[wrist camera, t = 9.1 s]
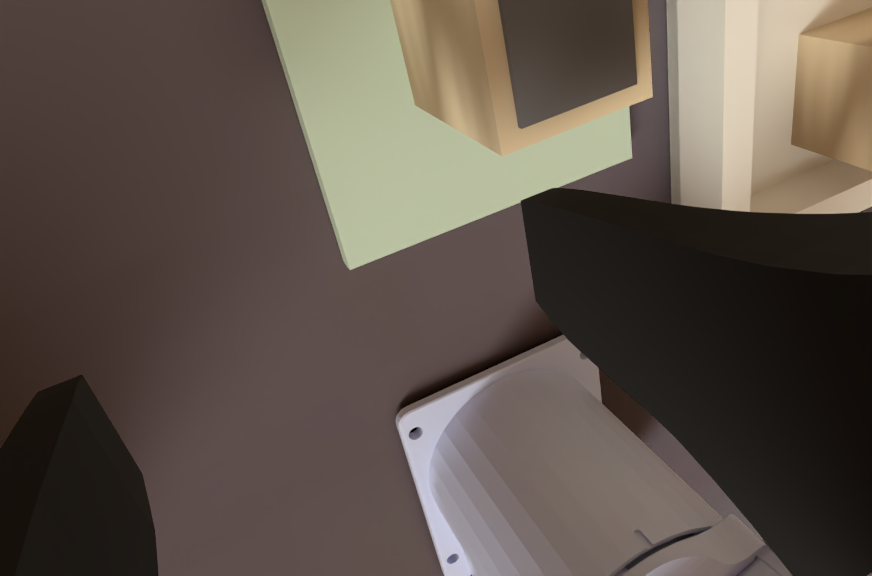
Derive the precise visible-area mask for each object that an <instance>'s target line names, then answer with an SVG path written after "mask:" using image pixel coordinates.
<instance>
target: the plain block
mask: <svg viewBox="0 0 872 576" xmlns="http://www.w3.org/2000/svg"><path fill="white" fill-rule="evenodd" d="M791 145H794V146H797V147H800V148H803V149H806V150H809V151H812V152H815V153H818V154H821V155H824V156H827V157H830V158H833V159H836V160H839V161H842V162H845V163H848V164H851V165H854V166H857V167H860V168H863V169H866V170H869V171H872V7H871V8H869V9H866V10H863V11H860V12H858V13H855V14H852V15H850V16H847V17H844V18H842V19H839V20H836V21H834V22H831V23H828V24H826V25H823V26H820V27H817V28H815V29H812V30H809V31H807V32H804V33H801V34H799V38H798V52H797V66H796V80H795V94H794V108H793V122H792V136H791Z"/></svg>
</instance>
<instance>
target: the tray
mask: <svg viewBox="0 0 872 576" xmlns="http://www.w3.org/2000/svg"><path fill="white" fill-rule="evenodd" d="M666 7H667V47H668V87H669V126H670V166H671V204H678V205H685V206H693V207H702V208H712V209H721V210H731V211H745V212H763V213H791V214H837V213H858V212H860V211H863V210H865V209H867V208H869V207H871V206H872V171H869V170H866V169H863V168H860V167H857V166H854V165H851V164H848V163H845V162H842V161H839V160H836V159H833V158H830V157H827V156H824V155H821V154H818V153H815V152H812V151H809V150H806V149H803V148H800V147H797V146H794V145H791V136H792V122H793V108H794V94H795V80H796V66H797V52H798V38H799V34H801V33H804V32H807V31H809V30H812V29H815V28H817V27H820V26H823V25H826V24H828V23H831V22H834V21H836V20H839V19H842V18H844V17H847V16H850V15H852V14H855V13H858V12H860V11H863V10H866V9H869V8H871V7H872V0H666Z"/></svg>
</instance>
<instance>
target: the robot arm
mask: <svg viewBox="0 0 872 576" xmlns="http://www.w3.org/2000/svg"><path fill="white" fill-rule="evenodd" d="M521 206H522V212H523V219H524V226H525V232H526V239H527V245H528V252H529V259H530V265H531V272H532V279H533V285H534V292H535V298H536V302H537V303H538V304H539V305H540V307H541V308H542V309H543V310H544V312H545V313H546V314H547V315H548V317H549V318H550V319H551V320H552V322H553V323H554V324H555V325H556V326H557V328H558V329H559V330H560V331H561V332H562V333H563V335H561V336H559V337H557V338H555V339H553V340H550V341H548V342H546V343H544V344H542V345H539V346H537V347H535V348H533V349H531V350H528V351H526V352H524V353H522V354H520V355H518V356H515V357H513V358H511V359H509V360H507V361H504V362H502V363H500V364H498V365H496V366H493V367H491V368H489V369H487V370H485V371H483V372H480V373H478V374H476V375H474V376H472V377H469V378H467V379H465V380H463V381H461V382H458V383H456V384H454V385H452V386H450V387H448V388H445V389H443V390H441V391H439V392H437V393H434V394H432V395H430V396H428V397H426V398H423V399H421V400H419V401H417V402H415V403H413V404H410V405H408V406H406V407H404V408H403V409H401V410H400V412H399V413H398V414H397V416H396V425H397V428H398V431H399V435H400V438H401V441H402V444H403V447H404V451H405V454H406V457H407V460H408V463H409V467H410V470H411V473H412V476H413V479H414V482H415V486H416V489H417V492H418V495H419V498H420V502H421V505H422V508H423V511H424V514H425V518H426V521H427V524H428V527H429V530H430V533H431V537H432V540H433V543H434V546H435V549H436V553H437V556H438V559H439V562H440V565H441V569H442V572H443V574H444V576H470V575H471V574H472V576H872V212H865V213H837V214H791V213H763V212H745V211H731V210H721V209H712V208H702V207H693V206H685V205H678V204H670V203H663V202H656V201H650V200H643V199H637V198H630V197H624V196H618V195H611V194H605V193H598V192H591V191H584V190H576V189H565V188H551V189H548V190H546V191H543V192H541V193H538V194H536V195H533V196H531V197H528V198H526V199H523V200H521ZM581 352H582V353H581ZM580 353H581V354H580ZM599 369H600V370H601V371H603V372H604V373H605V374H606V375H607V376H608V377H609V378H611V379H612V380H613V381H614V382H615V383H616V384H617V385H618V386H620V387H621V388H622V389H623V390H624V391H625V392H626V393H628V394H629V395H630V396H631V397H632V398H633V399H634V400H635V401H637V402H638V403H639V404H640V405H641V406H642V407H643V408H644V409H646V410H647V411H648V412H649V413H650V414H651V415H652V416H654V417H655V418H656V419H657V420H658V421H659V422H660V423H661V424H662V425H663V426H664V427H665V428H666V429H667V430H668V431H669V432H670V433H671V434H672V435H673V436H674V437H675V438H676V439H677V440H678V441H679V442H680V443H681V444H682V445H683V446H684V447H685V449H686V450H687V451H688V452H689V453H690V454H691V455H692V456H693V457H694V459H695V460H696V461H697V462H698V463H699V464H700V465H701V466H702V467H703V468H704V470H705V471H706V472H707V473H708V474H709V475H710V476H711V477H712V478H713V480H714V481H715V482H716V483H717V484H718V485H719V487H720V488H721V489H722V490H723V491H724V493H725V494H726V495H727V496H728V497H729V498H730V500H731V501H732V502H733V503H734V504H735V505H736V507H737V508H738V509H739V510H740V511H741V513H742V514H743V515H744V516H745V517H746V518H747V520H748V521H749V522H750V523H751V524H752V525H753V527H754V528H755V529H756V530H757V532H758V533H759V534H760V535H761V537H762V538H763V540H764V542H765V543H764V542H763V541H762V540H761V539H760V538H759V537H758V536H757V535H755V534H754V533H753V532H752V531H751V530H750V529H749V528H748V527H747V526H746V525H745V524H744V523H743V522H741V521H740V520H739V519H738V518H737V517H736V516H735V515H734V514H729V515H727V516H726V517H725V518H724V519H723V518H722V517H721V516H720V515H719V514H718V513H717V512H716V511H715V510H714V509H713V508H712V507H711V506H709V505H708V504H707V503H706V502H705V501H704V500H703V499H702V498H701V497H700V496H699V495H698V494H697V493H696V492H695V491H694V490H693V489H692V488H691V487H689V486H688V485H687V484H686V483H685V482H684V481H683V480H682V479H681V478H680V477H679V476H678V475H677V474H676V473H675V472H674V471H673V470H672V469H671V468H669V467H668V466H667V465H666V464H665V463H664V462H663V461H662V460H661V459H660V458H659V457H658V456H657V455H656V454H655V453H654V452H653V451H652V450H651V449H649V448H648V447H647V446H646V445H645V444H644V443H643V442H642V441H641V440H640V439H639V438H638V437H637V436H636V435H635V434H634V433H633V432H632V431H631V430H629V429H628V428H627V427H626V426H625V425H624V424H623V423H622V422H621V421H620V420H619V419H618V418H617V417H616V416H615V415H614V414H613V413H612V412H611V411H609V410H608V409H607V408H606V407H605V406H604V405H603V404H602V397H601V387H600V377H599ZM416 427H418V428H417V430H416V431H414V432H412V433H410V431H411V430H412V429H413V428H416ZM0 576H158V564H157V550H156V538H155V529H154V524H153V519H152V515H151V510H150V505H149V501H148V497H147V492H146V488H145V484H144V479H143V475H142V473H141V471H140V469H139V468H138V466H137V464H136V463H135V461H134V459H133V458H132V456H131V454H130V453H129V451H128V449H127V448H126V446H125V444H124V443H123V441H122V440H121V438H120V436H119V435H118V433H117V431H116V430H115V428H114V426H113V425H112V423H111V421H110V420H109V418H108V416H107V415H106V413H105V411H104V410H103V408H102V407H101V405H100V403H99V402H98V400H97V398H96V397H95V395H94V393H93V392H92V390H91V388H90V387H89V385H88V383H87V382H86V380H85V378H84V377H83V375H80V376H77V377H75V378H72V379H70V380H67V381H65V382H62V383H60V384H57V385H54V386H52V387H49V388H47V389H44V390H42V391H39V392H38V393H37V394H36V396H35V397H34V398H33V399H32V401H31V402H30V404H29V405H28V407H27V408H26V410H25V411H24V413H23V414H22V416H21V417H20V419H19V421H18V422H17V424H16V425H15V427H14V428H13V430H12V432H11V433H10V435H9V436H8V438H7V439H6V441H5V443H4V444H3V446H2V447H1V449H0Z"/></svg>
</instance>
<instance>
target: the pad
mask: <svg viewBox="0 0 872 576" xmlns="http://www.w3.org/2000/svg"><path fill="white" fill-rule="evenodd" d="M262 4H263V7H264V10H265V13H266V16H267V20H268V23H269V26H270V29H271V32H272V35H273V39H274V42H275V45H276V48H277V51H278V54H279V58H280V61H281V64H282V67H283V70H284V74H285V77H286V80H287V83H288V86H289V89H290V93H291V96H292V99H293V102H294V105H295V108H296V112H297V115H298V118H299V121H300V124H301V127H302V131H303V134H304V137H305V140H306V143H307V147H308V150H309V153H310V156H311V159H312V162H313V166H314V169H315V172H316V175H317V178H318V181H319V185H320V188H321V191H322V194H323V197H324V200H325V204H326V207H327V210H328V213H329V216H330V220H331V223H332V226H333V229H334V232H335V235H336V239H337V242H338V245H339V248H340V251H341V254H342V258H343V261H344V263H345V264H346V265H347V267H348V268H349V269H350V270H351V269H354V268H356V267H359V266H361V265H364V264H366V263H369V262H371V261H374V260H377V259H379V258H382V257H384V256H387V255H389V254H392V253H394V252H397V251H399V250H402V249H404V248H407V247H409V246H412V245H414V244H417V243H419V242H422V241H424V240H427V239H429V238H432V237H434V236H437V235H439V234H442V233H444V232H447V231H449V230H452V229H455V228H457V227H460V226H462V225H465V224H467V223H470V222H472V221H475V220H477V219H480V218H482V217H485V216H487V215H490V214H492V213H495V212H497V211H500V210H502V209H505V208H507V207H510V206H512V205H515V204H517V203H520V202H521V200H523V199H526V198H528V197H531V196H533V195H536V194H538V193H541V192H543V191H546V190H548V189H551V188H558V187H560V186H563V185H565V184H568V183H570V182H573V181H575V180H578V179H580V178H583V177H585V176H588V175H590V174H593V173H595V172H598V171H600V170H603V169H605V168H608V167H611V166H613V165H616V164H618V163H621V162H623V161H626V160H628V159H631V158H632V147H631V130H630V112H629V106H628V107H626V108H623V109H621V110H618V111H616V112H613V113H611V114H608V115H606V116H603V117H601V118H598V119H595V120H593V121H590V122H588V123H585V124H583V125H580V126H578V127H575V128H573V129H570V130H568V131H565V132H563V133H560V134H558V135H555V136H553V137H550V138H548V139H545V140H542V141H540V142H537V143H535V144H532V145H530V146H527V147H525V148H522V149H520V150H517V151H515V152H512V153H510V154H507V155H505V156H500V155H498V154H497V153H495V152H493V151H492V150H490V149H488V148H487V147H485V146H483V145H481V144H480V143H478V142H476V141H475V140H473V139H471V138H470V137H468V136H466V135H465V134H463V133H461V132H459V131H458V130H456V129H454V128H453V127H451V126H449V125H448V124H446V123H444V122H443V121H441V120H439V119H437V118H436V117H434V116H432V115H431V114H429V113H427V112H426V111H424V110H422V109H421V108H419V107H417V106H415V103H414V99H413V95H412V90H411V86H410V82H409V78H408V74H407V69H406V65H405V61H404V57H403V53H402V49H401V44H400V40H399V36H398V32H397V28H396V23H395V19H394V15H393V11H392V7H391V3H390V0H262Z"/></svg>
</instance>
